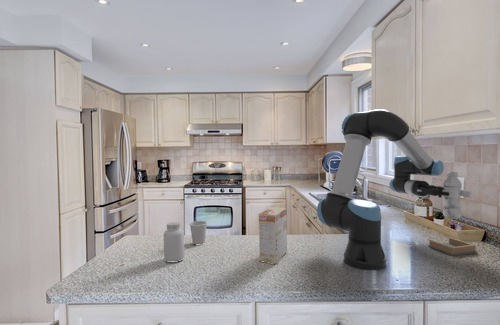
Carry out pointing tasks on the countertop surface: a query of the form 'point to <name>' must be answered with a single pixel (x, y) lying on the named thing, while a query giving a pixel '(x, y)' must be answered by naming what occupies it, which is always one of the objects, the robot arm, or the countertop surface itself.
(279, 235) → the coffeecake box
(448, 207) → the silver metal bottle
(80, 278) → the countertop surface
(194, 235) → the dixie cup
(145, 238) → the countertop surface
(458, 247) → the tray
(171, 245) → the pill bottle
